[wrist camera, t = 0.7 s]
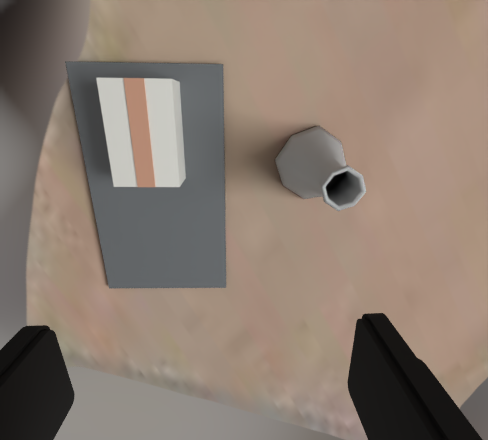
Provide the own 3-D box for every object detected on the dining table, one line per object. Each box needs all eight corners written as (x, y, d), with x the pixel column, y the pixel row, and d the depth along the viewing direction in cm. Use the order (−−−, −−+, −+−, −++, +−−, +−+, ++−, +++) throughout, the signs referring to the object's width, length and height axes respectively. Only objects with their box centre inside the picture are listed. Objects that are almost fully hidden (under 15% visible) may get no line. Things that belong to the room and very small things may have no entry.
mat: (68, 62, 26) (65, 61, 26) (223, 64, 26) (222, 64, 26) (110, 285, 35) (109, 288, 34) (226, 285, 35) (225, 287, 35)
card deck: (113, 80, 26) (95, 77, 23) (179, 81, 26) (171, 78, 23) (127, 177, 30) (113, 187, 26) (185, 178, 30) (179, 187, 26)
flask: (301, 209, 32) (328, 251, 23) (262, 158, 30) (274, 181, 20) (357, 168, 30) (411, 196, 21) (320, 111, 28) (362, 114, 19)
